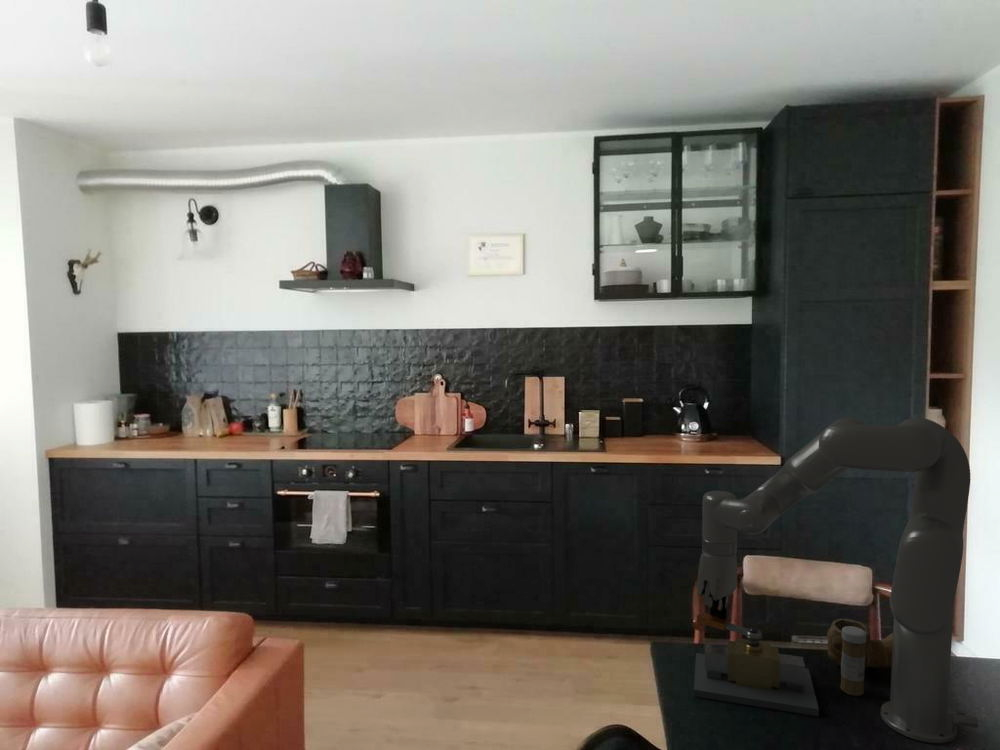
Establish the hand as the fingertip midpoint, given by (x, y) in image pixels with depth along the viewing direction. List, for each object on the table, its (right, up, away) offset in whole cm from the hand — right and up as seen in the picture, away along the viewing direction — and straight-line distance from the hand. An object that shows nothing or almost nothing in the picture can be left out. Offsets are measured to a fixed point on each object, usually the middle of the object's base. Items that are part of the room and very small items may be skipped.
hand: (718, 624), depth 152 cm
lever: (+1, +1, -5) cm, 6 cm away
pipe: (+33, -10, -2) cm, 34 cm away
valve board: (+5, -10, -8) cm, 14 cm away
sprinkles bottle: (+25, -10, -11) cm, 29 cm away
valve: (+5, -9, -8) cm, 13 cm away
